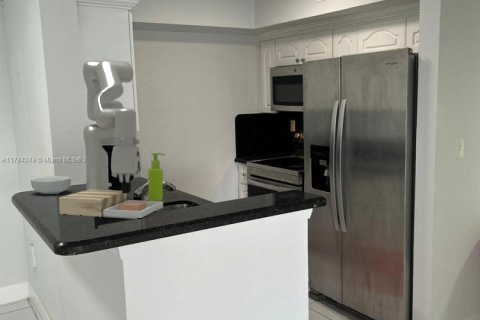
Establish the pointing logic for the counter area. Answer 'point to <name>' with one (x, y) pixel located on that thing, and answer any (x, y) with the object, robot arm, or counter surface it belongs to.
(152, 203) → the box
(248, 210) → the counter surface
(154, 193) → the soap dispenser
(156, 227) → the counter surface
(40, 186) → the cereal bowl
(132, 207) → the terracotta tile
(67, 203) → the birch board
